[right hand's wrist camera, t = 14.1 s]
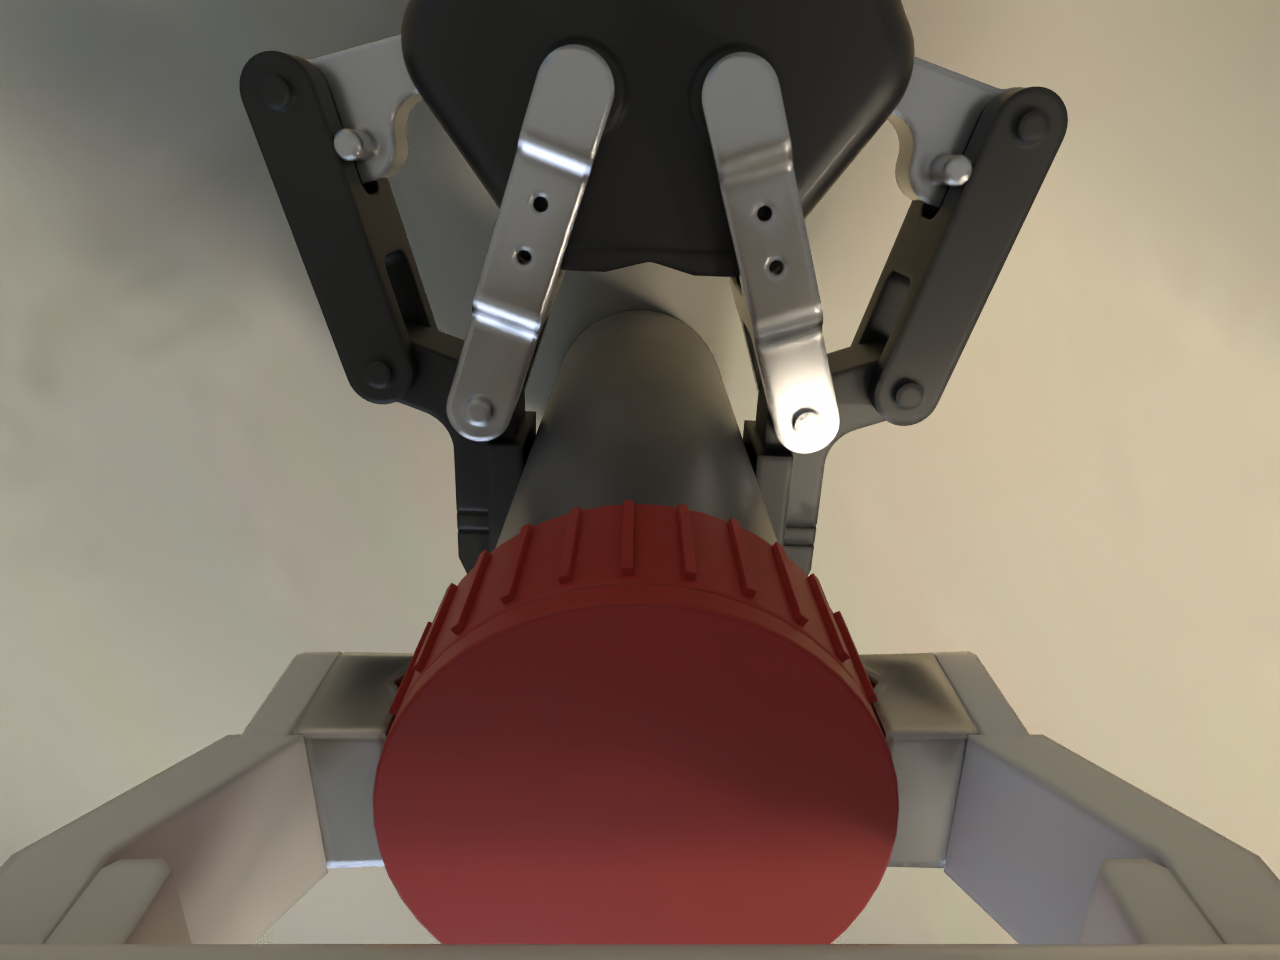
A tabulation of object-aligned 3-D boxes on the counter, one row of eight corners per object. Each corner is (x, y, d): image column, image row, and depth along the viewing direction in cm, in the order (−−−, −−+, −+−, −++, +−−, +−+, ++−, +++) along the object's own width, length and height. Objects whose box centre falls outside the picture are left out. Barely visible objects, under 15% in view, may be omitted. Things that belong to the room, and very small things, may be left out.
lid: (526, 902, 12) (501, 1063, 10) (339, 585, 10) (261, 703, 8) (901, 793, 11) (962, 943, 9) (778, 429, 9) (819, 513, 7)
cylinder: (594, 489, 24) (525, 993, 10) (531, 344, 23) (341, 695, 8) (742, 436, 24) (900, 892, 9) (688, 284, 22) (777, 549, 8)
